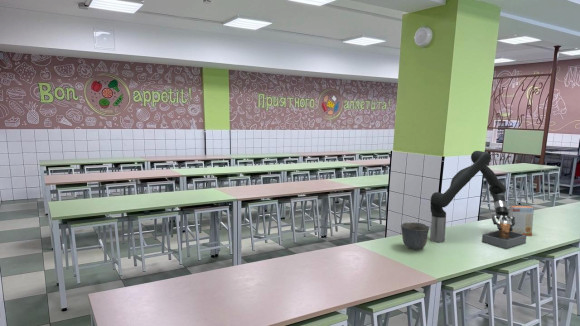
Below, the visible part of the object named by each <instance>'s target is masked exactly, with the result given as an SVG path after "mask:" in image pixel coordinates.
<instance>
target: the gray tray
mask: <svg viewBox="0 0 580 326" xmlns="http://www.w3.org/2000/svg"><path fill="white" fill-rule="evenodd" d="M481 243H483V244H486V245H490V246H493V247H495V248H496V247H498V248H500V249H503V250H509V249H511V248H512V249H513V248H515V247H518V246H521V245H524V244H526V243H527V236H526V235H523V234H520V233H516V232H512V231H510V236H509V240H502V239H499V229H497V230H494V231H489V232H485V233H482V236H481Z"/></svg>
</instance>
